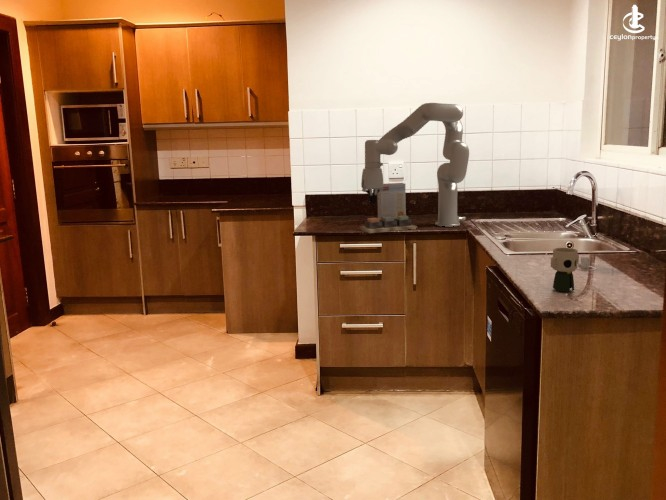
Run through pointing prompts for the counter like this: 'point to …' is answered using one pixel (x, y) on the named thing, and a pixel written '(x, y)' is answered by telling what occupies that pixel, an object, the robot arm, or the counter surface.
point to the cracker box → (392, 200)
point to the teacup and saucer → (585, 263)
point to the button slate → (388, 218)
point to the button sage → (403, 217)
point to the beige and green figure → (564, 267)
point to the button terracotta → (373, 220)
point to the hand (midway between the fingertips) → (372, 203)
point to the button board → (387, 226)
